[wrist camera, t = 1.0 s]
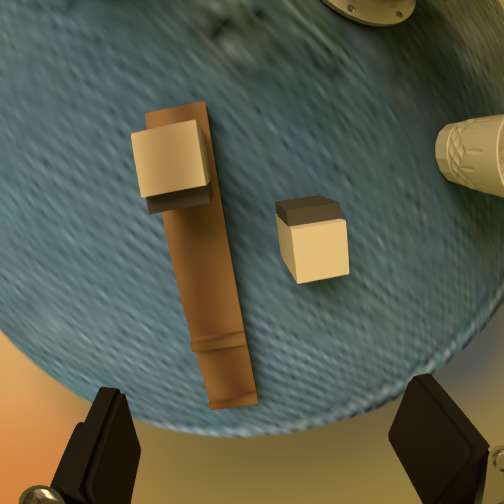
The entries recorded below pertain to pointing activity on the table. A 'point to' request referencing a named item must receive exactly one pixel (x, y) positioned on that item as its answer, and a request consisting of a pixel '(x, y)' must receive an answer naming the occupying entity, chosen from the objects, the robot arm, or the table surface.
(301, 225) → the cream brown block
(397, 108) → the table surface
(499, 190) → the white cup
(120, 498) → the robot arm
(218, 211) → the rail
